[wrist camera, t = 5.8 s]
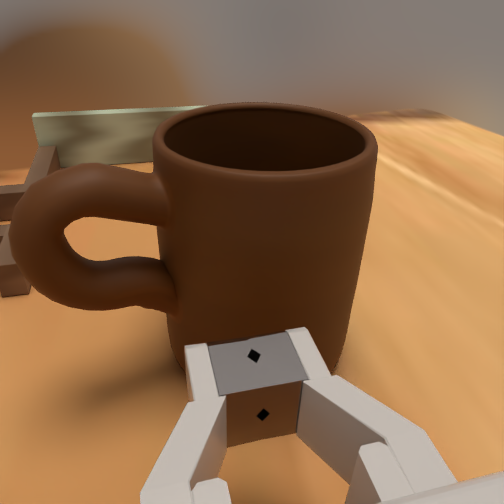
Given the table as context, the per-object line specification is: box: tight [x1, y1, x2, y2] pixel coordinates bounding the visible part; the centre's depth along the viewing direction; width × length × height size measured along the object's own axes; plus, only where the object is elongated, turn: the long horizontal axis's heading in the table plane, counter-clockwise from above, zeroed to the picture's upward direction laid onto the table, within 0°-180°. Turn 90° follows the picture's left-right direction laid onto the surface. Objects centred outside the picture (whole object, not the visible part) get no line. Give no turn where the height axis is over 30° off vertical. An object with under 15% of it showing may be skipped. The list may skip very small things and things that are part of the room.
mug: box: [8, 102, 378, 372], centre depth 17 cm, size 12×8×9 cm, turn 118°
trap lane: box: [0, 106, 204, 297], centre depth 30 cm, size 26×17×4 cm, turn 104°
